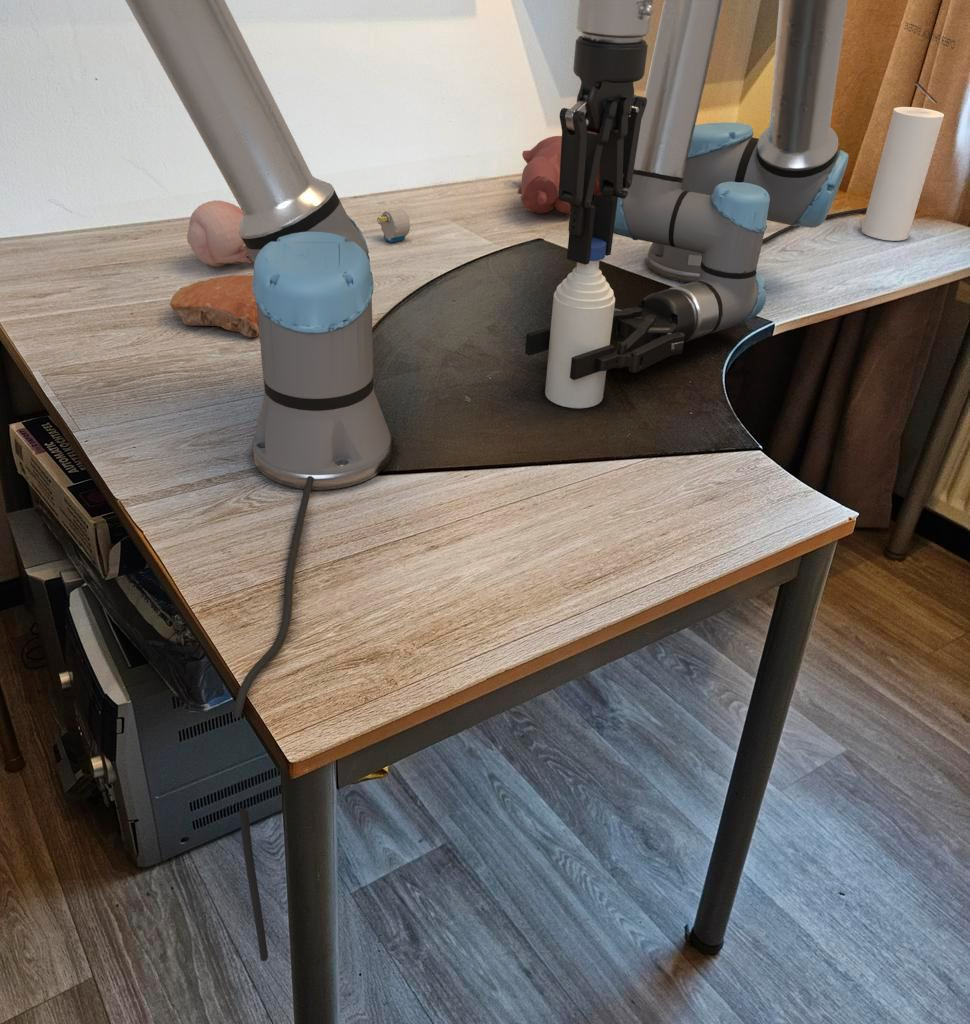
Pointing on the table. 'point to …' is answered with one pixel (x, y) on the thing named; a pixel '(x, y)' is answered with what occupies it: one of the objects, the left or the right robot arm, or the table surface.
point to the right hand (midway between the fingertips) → (550, 356)
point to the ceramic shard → (219, 304)
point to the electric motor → (394, 225)
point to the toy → (217, 234)
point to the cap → (597, 249)
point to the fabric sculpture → (545, 177)
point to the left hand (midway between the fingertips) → (588, 256)
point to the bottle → (578, 335)
